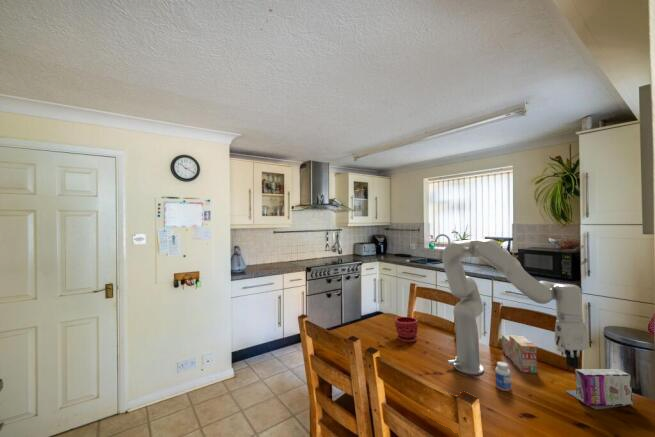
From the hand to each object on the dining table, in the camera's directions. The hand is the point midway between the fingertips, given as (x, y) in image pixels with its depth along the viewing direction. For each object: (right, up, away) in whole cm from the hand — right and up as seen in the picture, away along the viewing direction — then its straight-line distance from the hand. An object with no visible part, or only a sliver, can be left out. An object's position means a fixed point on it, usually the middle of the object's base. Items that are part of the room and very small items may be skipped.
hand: (572, 366), depth 105 cm
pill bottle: (-20, -14, +10) cm, 26 cm away
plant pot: (-45, -17, +62) cm, 78 cm away
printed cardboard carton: (+1, -15, +31) cm, 35 cm away
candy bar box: (+2, -7, -1) cm, 7 cm away
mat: (+10, -13, +1) cm, 16 cm away
